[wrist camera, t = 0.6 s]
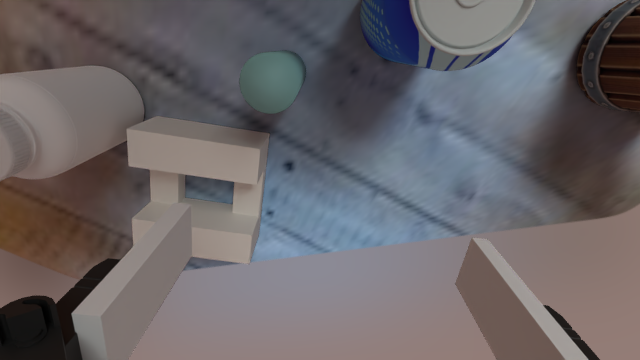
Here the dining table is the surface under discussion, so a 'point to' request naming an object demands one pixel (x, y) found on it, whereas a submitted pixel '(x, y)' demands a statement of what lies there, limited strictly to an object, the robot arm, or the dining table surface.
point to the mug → (613, 59)
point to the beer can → (441, 30)
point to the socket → (210, 162)
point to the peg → (272, 80)
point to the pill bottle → (63, 118)
